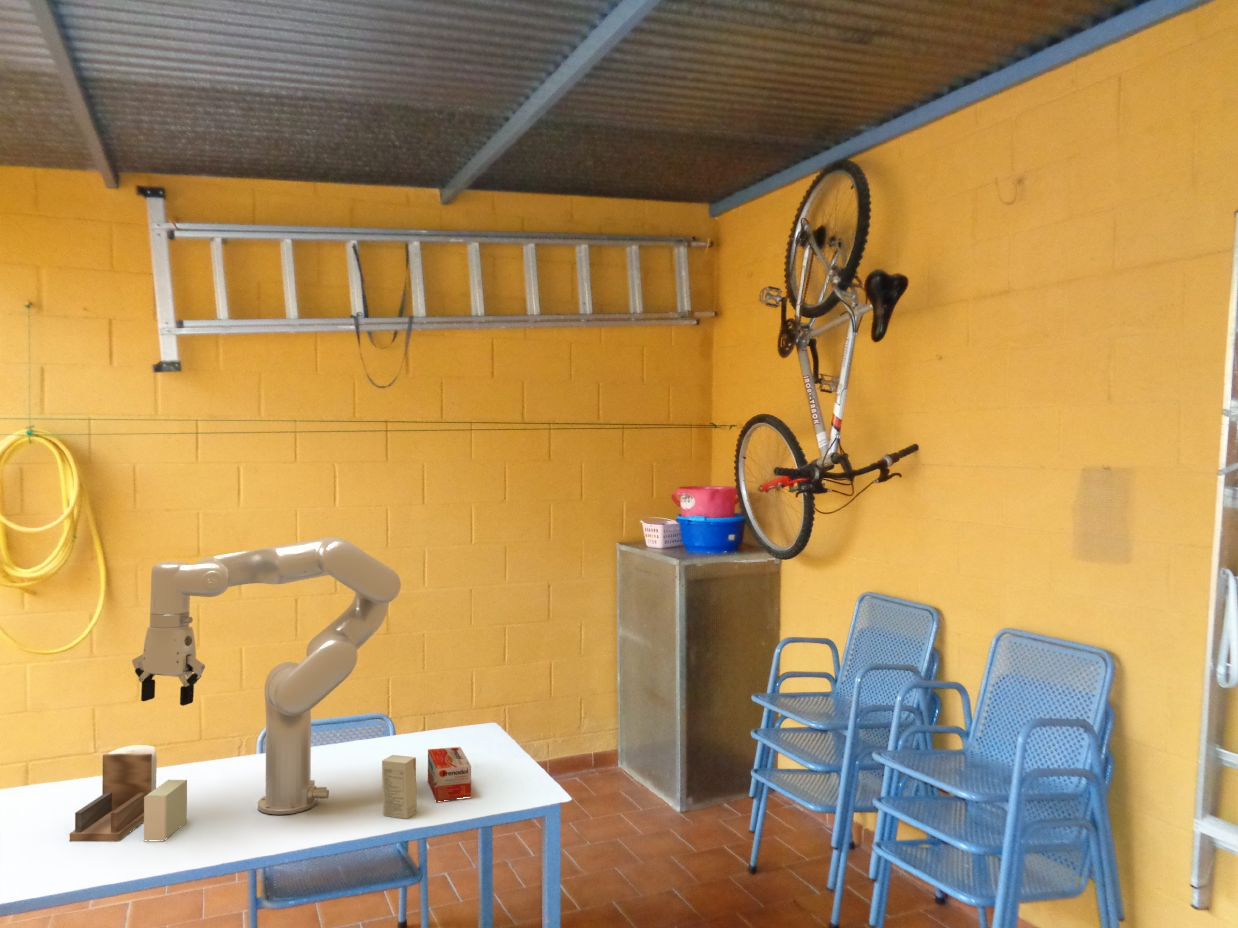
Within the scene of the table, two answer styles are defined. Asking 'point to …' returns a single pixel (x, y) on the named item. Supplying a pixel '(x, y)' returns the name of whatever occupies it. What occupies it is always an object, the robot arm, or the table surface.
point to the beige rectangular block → (165, 810)
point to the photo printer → (141, 750)
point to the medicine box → (449, 773)
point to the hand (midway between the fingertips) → (167, 701)
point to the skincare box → (399, 786)
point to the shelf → (116, 799)
